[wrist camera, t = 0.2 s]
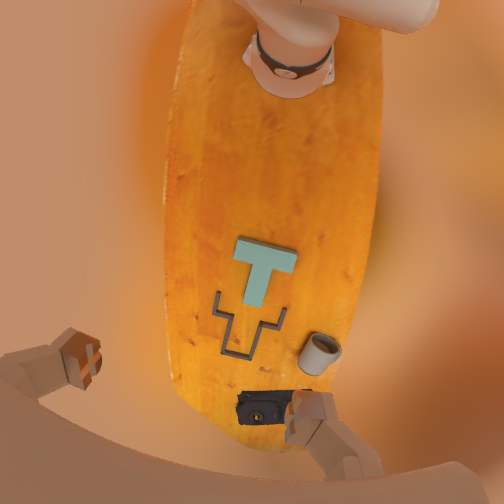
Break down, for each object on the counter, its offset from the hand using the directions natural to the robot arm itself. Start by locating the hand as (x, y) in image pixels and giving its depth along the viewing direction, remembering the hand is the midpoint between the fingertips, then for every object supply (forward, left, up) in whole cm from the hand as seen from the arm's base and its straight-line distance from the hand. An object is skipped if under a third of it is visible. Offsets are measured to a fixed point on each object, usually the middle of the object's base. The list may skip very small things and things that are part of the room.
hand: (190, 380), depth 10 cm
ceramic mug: (+27, +24, -47) cm, 60 cm away
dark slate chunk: (+51, +20, -48) cm, 73 cm away
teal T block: (+12, +5, -47) cm, 49 cm away
